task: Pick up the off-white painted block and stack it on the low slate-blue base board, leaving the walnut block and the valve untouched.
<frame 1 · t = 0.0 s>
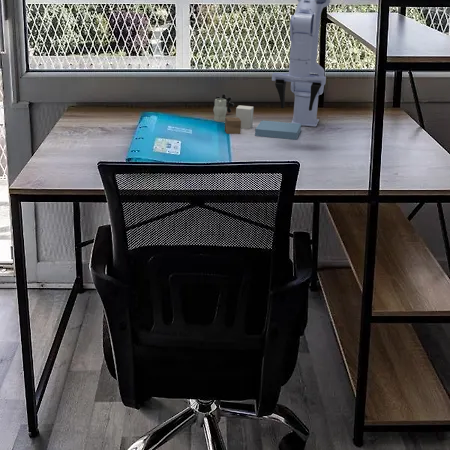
hand: (296, 108, 228), 10 cm above the table, fingers open, 7 cm apart
valve: (221, 118, 260), on the table
base board: (278, 133, 243), on the table
walnut block: (232, 132, 242), on the table
white block: (243, 127, 249), on the table
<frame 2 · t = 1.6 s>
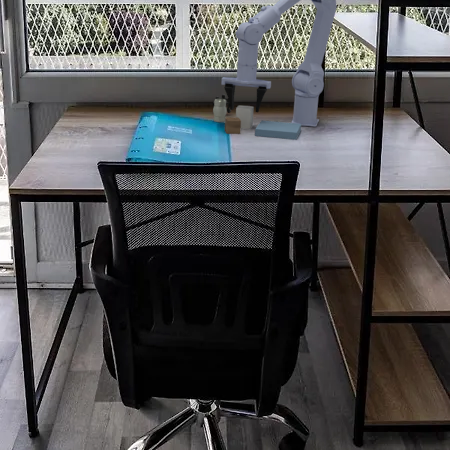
hand: (244, 110, 247), 5 cm above the table, fingers open, 7 cm apart
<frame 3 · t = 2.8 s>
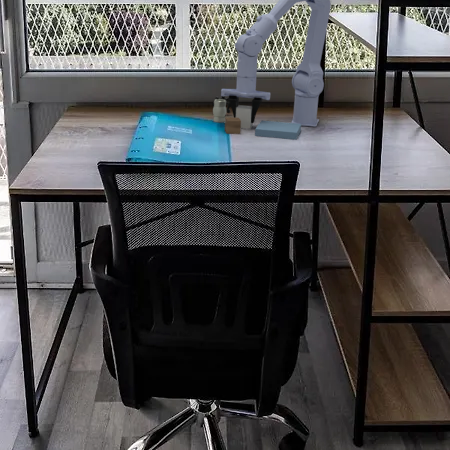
hand: (244, 121, 248), 2 cm above the table, fingers closed on white block, 4 cm apart
white block: (243, 126, 249), on the table, touching gripper
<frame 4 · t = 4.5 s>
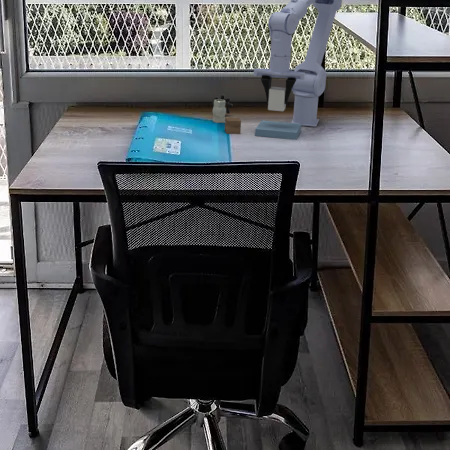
hand: (277, 102, 241), 9 cm above the table, fingers closed on white block, 4 cm apart
white block: (276, 109, 241), point 7 cm above the table, touching gripper
when the fingers open (5 cm above the table, at t = 6.3 s): white block stays where it is, resting on base board.
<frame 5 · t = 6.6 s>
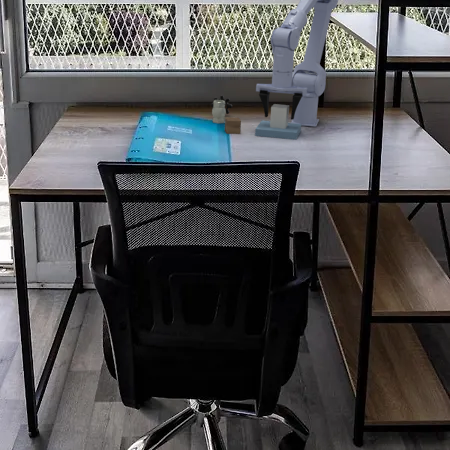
hand: (279, 117, 242), 5 cm above the table, fingers open, 7 cm apart
white block: (278, 126, 243), point 2 cm above the table, touching base board
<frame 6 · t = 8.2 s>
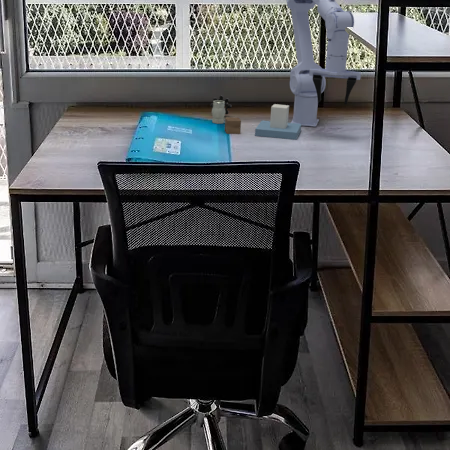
hand: (332, 102, 239), 10 cm above the table, fingers open, 7 cm apart
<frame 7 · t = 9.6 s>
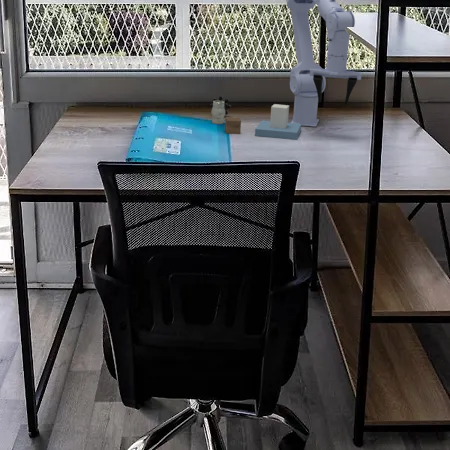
hand: (332, 102, 239), 10 cm above the table, fingers open, 7 cm apart
at the end: white block inside the target area on the base board (0.1 cm from its centre), point 2.0 cm above the base board's base; white block tilted 0°; the gripper is holding nothing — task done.
